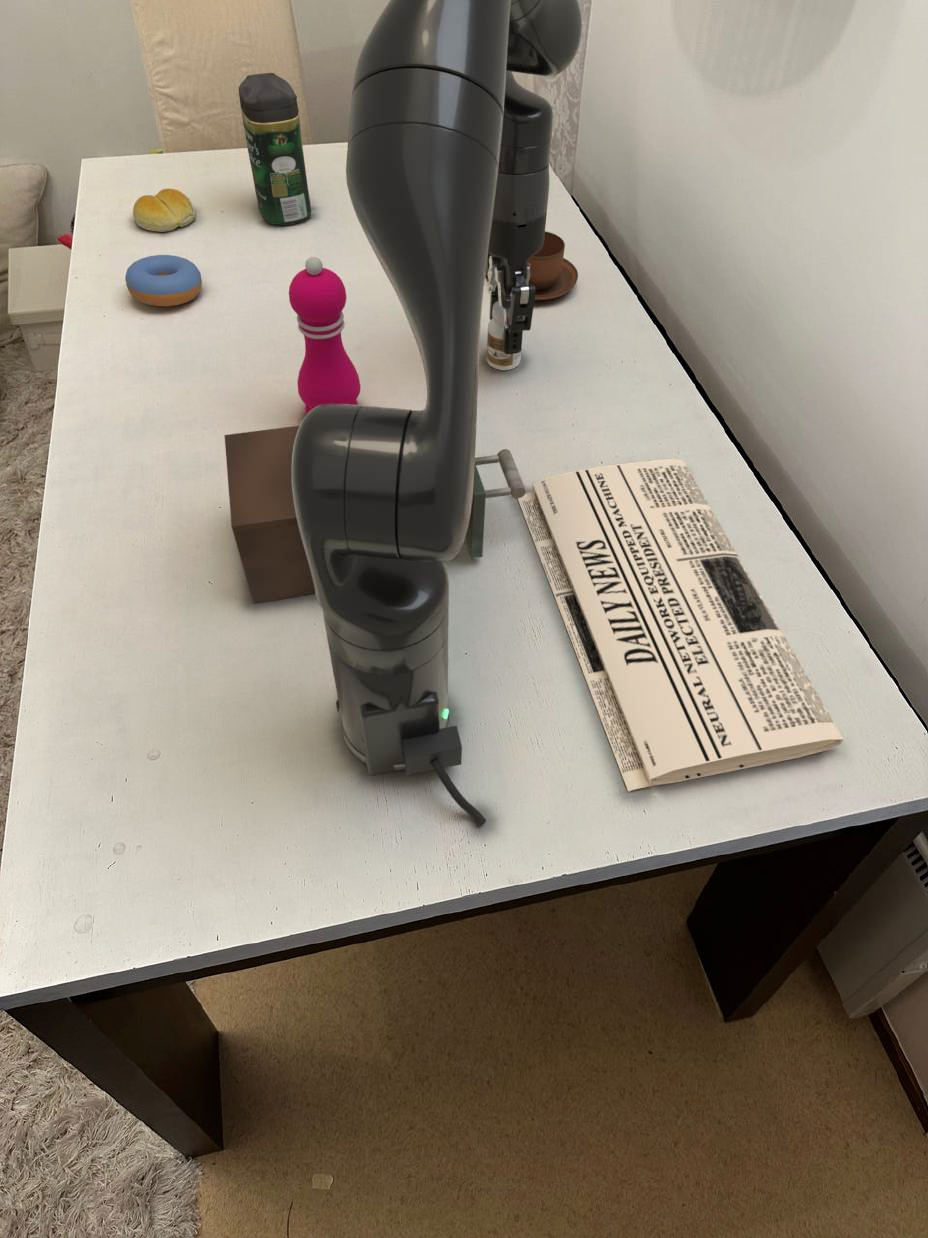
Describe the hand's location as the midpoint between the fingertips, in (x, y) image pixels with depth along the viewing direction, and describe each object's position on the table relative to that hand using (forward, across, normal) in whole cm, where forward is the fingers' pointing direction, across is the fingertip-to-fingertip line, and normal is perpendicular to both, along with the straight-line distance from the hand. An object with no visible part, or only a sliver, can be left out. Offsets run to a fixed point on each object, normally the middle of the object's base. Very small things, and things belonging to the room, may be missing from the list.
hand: (504, 336), depth 106 cm
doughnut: (+4, -24, -42) cm, 49 cm away
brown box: (+4, +28, -27) cm, 39 cm away
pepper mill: (+4, +7, -23) cm, 24 cm away
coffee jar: (+4, -45, -24) cm, 51 cm away
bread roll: (+4, -46, -42) cm, 62 cm away
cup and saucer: (+4, -17, +9) cm, 20 cm away
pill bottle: (+4, 0, 0) cm, 4 cm away
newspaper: (+4, +43, +5) cm, 44 cm away
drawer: (+3, +28, -15) cm, 32 cm away
